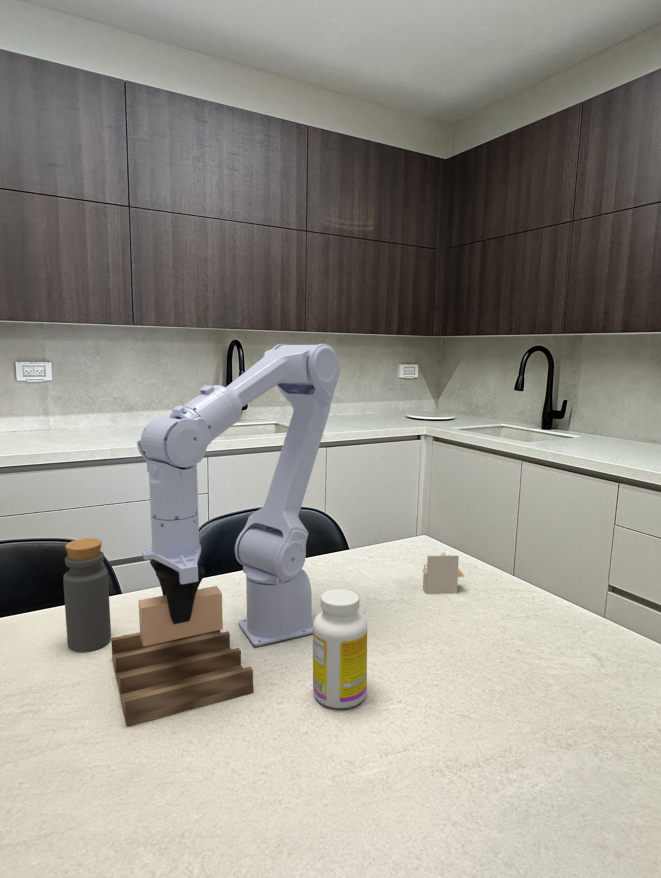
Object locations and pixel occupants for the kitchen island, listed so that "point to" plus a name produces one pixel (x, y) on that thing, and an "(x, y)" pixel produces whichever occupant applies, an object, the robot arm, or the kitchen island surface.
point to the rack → (177, 674)
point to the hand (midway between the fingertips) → (178, 616)
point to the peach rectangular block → (161, 628)
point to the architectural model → (441, 574)
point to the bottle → (86, 596)
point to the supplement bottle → (340, 650)
